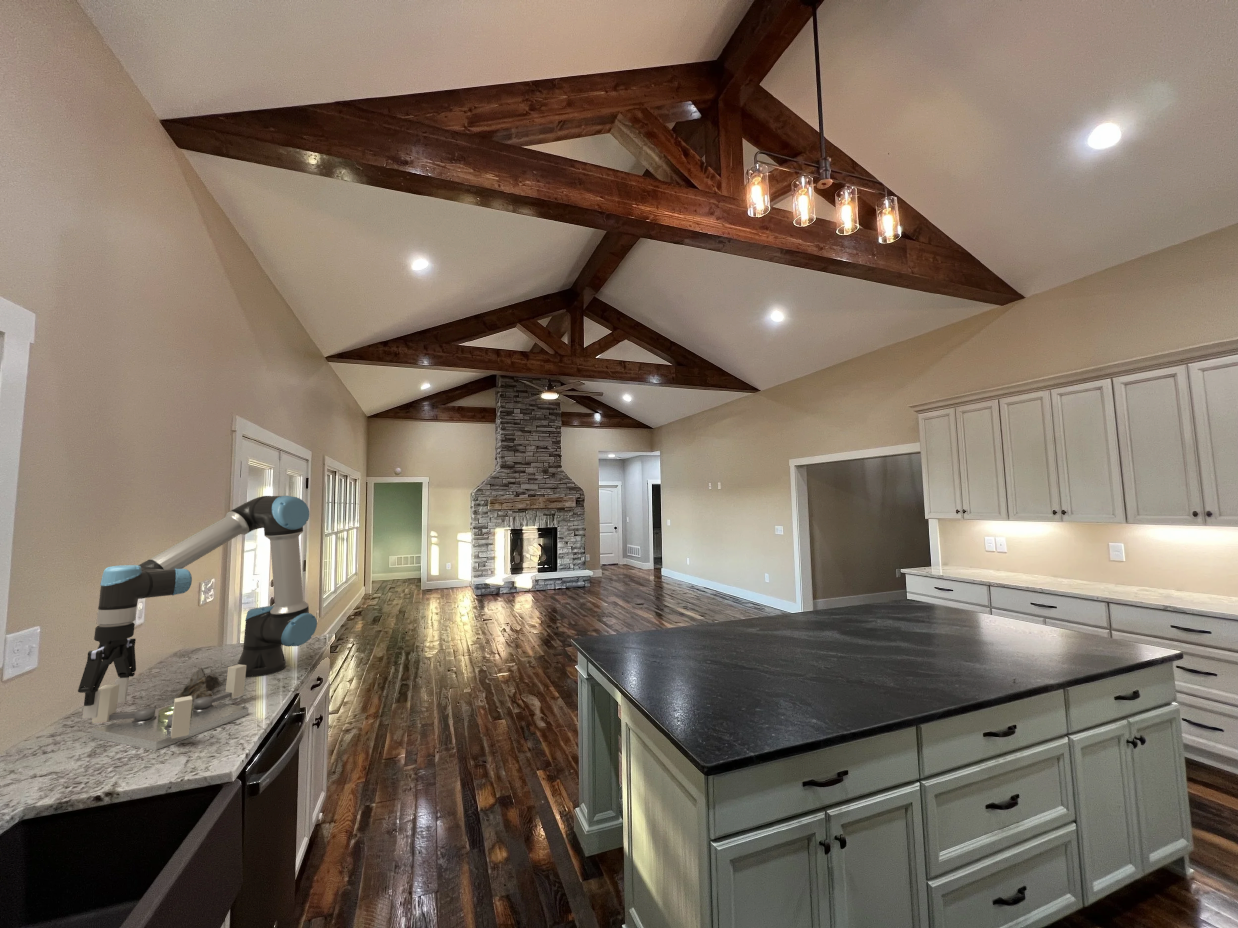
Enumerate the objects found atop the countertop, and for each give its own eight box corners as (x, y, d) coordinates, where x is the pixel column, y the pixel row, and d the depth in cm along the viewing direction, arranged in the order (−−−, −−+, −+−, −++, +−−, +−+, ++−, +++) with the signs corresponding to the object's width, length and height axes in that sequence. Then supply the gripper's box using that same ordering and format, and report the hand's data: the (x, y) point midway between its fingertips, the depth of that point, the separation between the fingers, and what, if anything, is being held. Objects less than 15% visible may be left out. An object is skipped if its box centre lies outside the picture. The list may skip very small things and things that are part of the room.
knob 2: (166, 723, 130) (170, 689, 131) (186, 718, 133) (190, 685, 134) (169, 739, 121) (173, 702, 122) (190, 734, 124) (194, 698, 125)
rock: (208, 699, 152) (198, 668, 153) (167, 715, 149) (157, 684, 149) (234, 684, 169) (225, 656, 170) (198, 698, 166) (189, 670, 166)
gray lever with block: (200, 709, 140) (203, 677, 140) (190, 707, 141) (193, 676, 142) (244, 694, 152) (247, 665, 153) (234, 692, 153) (237, 664, 154)
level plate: (189, 705, 149) (191, 685, 150) (247, 714, 143) (249, 694, 144) (91, 737, 127) (94, 714, 128) (155, 750, 121) (158, 726, 122)
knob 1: (158, 713, 136) (161, 681, 137) (148, 719, 132) (152, 686, 133) (102, 717, 133) (106, 684, 134) (90, 723, 129) (94, 689, 130)
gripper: (128, 615, 144) (118, 695, 141) (64, 633, 122) (51, 728, 120) (158, 615, 146) (149, 693, 143) (101, 632, 124) (89, 725, 122)
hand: (105, 709), depth 132 cm, fingers open, 10 cm apart
